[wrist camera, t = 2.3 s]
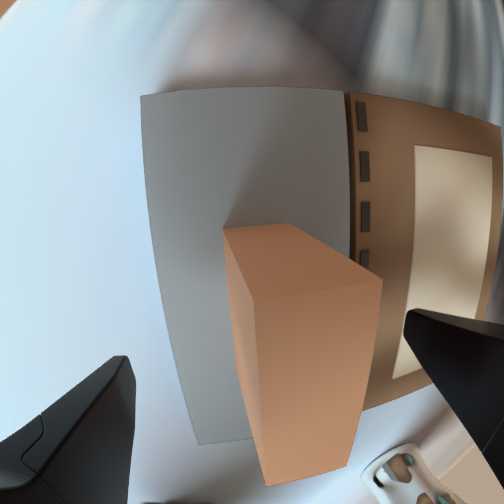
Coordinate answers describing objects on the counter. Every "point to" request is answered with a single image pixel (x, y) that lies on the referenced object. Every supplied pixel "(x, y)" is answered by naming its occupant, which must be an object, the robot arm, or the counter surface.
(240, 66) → the counter surface
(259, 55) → the counter surface
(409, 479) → the beer glass
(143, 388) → the counter surface
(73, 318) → the counter surface
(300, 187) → the gray plate with block
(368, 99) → the block
